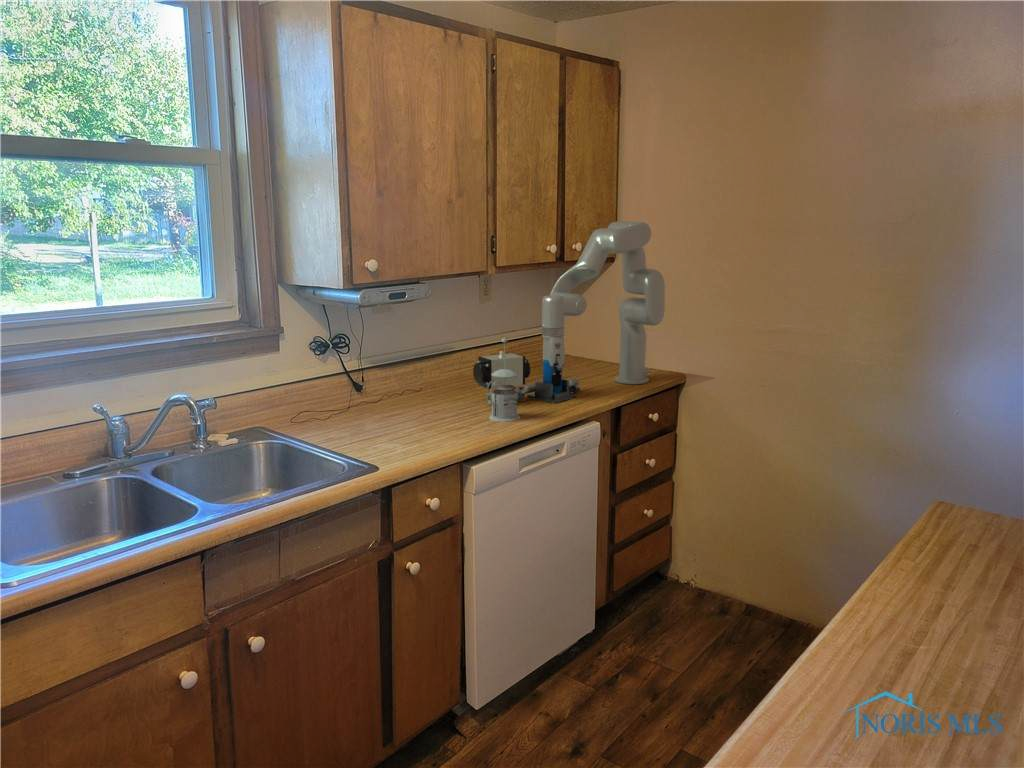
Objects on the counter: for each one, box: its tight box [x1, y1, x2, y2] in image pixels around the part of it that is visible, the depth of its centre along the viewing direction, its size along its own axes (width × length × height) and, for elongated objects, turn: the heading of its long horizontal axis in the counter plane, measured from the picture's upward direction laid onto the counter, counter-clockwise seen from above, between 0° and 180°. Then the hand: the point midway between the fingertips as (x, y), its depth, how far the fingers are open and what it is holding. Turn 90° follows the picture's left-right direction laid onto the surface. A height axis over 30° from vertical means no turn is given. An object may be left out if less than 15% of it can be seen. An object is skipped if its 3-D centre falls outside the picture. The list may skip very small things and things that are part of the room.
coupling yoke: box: [515, 378, 581, 404], centre depth 262 cm, size 24×15×6 cm, turn 137°
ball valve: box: [472, 350, 531, 405], centre depth 251 cm, size 18×8×18 cm, turn 120°
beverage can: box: [542, 358, 563, 394], centre depth 260 cm, size 6×6×12 cm
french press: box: [486, 337, 521, 423], centre depth 233 cm, size 10×12×25 cm
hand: (552, 383), depth 260 cm, fingers closed on beverage can, 6 cm apart
